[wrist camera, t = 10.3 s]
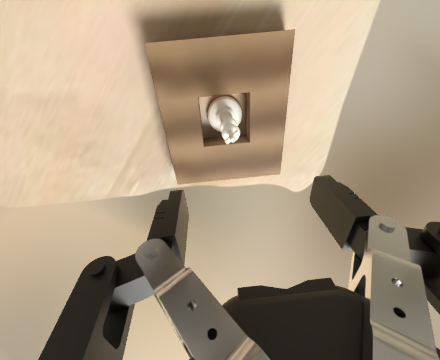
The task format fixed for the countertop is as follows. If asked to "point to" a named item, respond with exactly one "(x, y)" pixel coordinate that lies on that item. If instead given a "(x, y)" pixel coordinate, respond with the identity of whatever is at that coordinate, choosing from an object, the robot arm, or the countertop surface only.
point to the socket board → (221, 85)
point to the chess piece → (225, 117)
